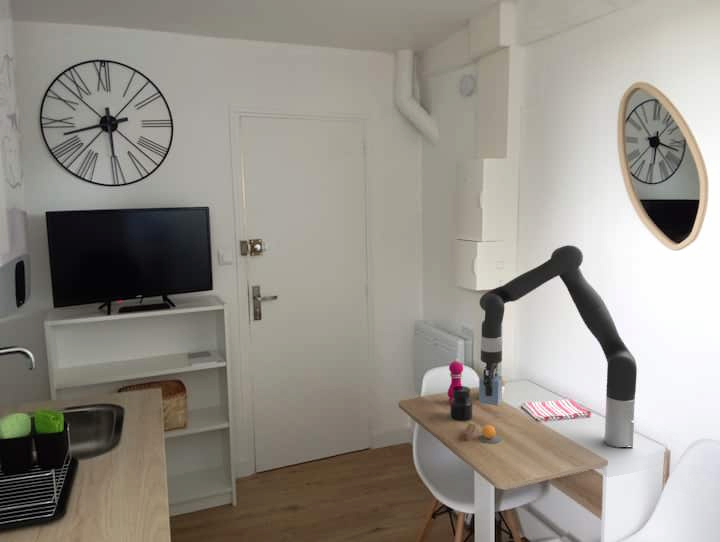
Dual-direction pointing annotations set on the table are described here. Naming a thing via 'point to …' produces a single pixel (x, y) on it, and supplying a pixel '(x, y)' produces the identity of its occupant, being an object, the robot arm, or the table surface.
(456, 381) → the pepper mill
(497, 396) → the blue gray block
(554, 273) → the robot arm
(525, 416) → the table surface
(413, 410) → the table surface
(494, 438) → the gray ellipsoid
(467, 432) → the strip
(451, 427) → the table surface
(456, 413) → the ink bottle
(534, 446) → the table surface
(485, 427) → the ball
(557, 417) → the dish towel
